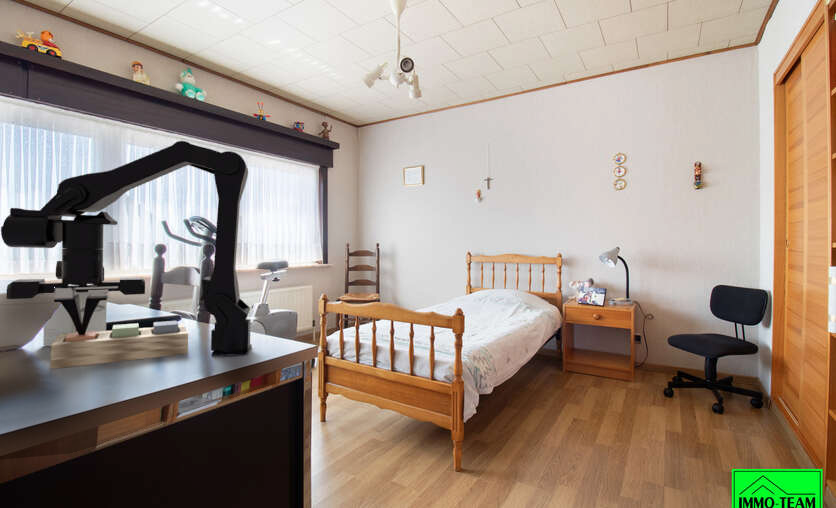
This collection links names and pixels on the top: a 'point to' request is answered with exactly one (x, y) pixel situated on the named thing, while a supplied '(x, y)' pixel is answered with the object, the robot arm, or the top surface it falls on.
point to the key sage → (125, 330)
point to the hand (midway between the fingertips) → (82, 334)
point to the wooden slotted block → (117, 347)
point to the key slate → (165, 327)
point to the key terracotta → (81, 336)
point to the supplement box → (65, 325)
